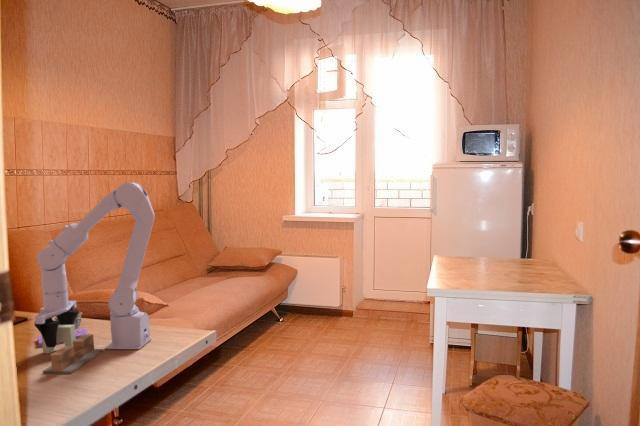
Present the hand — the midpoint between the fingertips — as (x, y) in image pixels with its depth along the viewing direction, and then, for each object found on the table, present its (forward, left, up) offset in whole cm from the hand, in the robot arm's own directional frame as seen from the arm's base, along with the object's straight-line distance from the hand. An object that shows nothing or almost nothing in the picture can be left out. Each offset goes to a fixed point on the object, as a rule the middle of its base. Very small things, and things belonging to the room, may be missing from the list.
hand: (59, 342), depth 128 cm
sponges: (+5, -9, -3) cm, 11 cm away
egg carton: (+11, -21, -3) cm, 24 cm away
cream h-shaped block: (0, 0, -3) cm, 3 cm away
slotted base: (-8, +6, -3) cm, 11 cm away
